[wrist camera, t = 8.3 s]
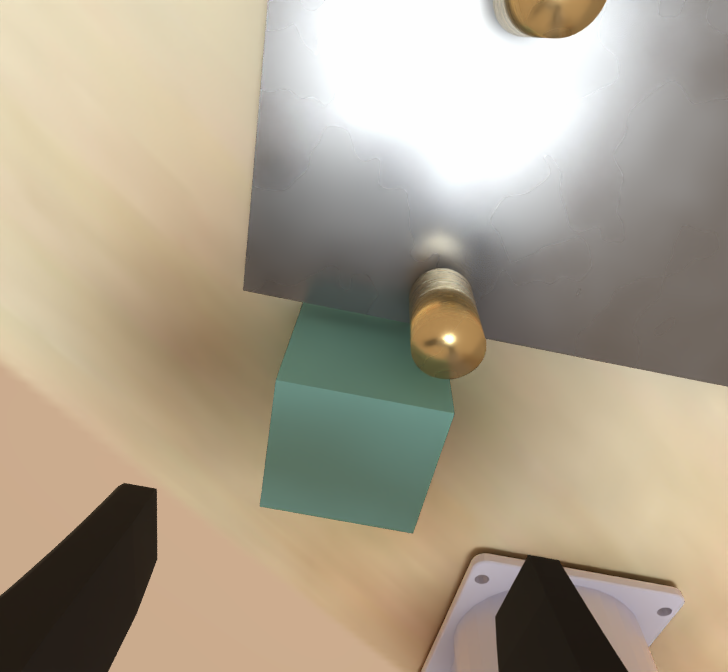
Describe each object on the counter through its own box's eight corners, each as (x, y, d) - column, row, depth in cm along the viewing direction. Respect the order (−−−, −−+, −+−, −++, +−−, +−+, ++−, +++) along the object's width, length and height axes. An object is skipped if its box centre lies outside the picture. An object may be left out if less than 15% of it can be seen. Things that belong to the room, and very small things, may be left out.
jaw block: (410, 432, 17) (412, 533, 14) (288, 410, 17) (259, 506, 14) (441, 326, 15) (454, 413, 12) (304, 299, 15) (275, 380, 12)
